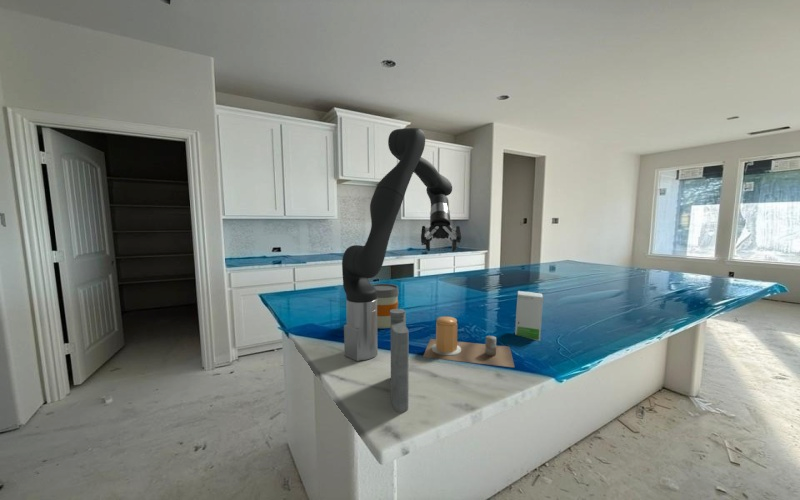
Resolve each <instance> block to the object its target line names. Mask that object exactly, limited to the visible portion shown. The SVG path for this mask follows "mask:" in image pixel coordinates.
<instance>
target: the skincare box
mask: <svg viewBox="0 0 800 500" xmlns="http://www.w3.org/2000/svg"><path fill="white" fill-rule="evenodd" d="M516 296H517V299H516V309H515V311H516V312H515V325H514V326H515V328H514V333H515V334H514V335H515V336H519V337H522V338H526V339H530V340H534V341H539V342H541V332H542V321H543V319H542V318H543V304H544V295H543V294H542V292H541V293H540V292H534V291H533V292H531V291H522V290H517V295H516Z"/></svg>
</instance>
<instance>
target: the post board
mask: <svg viewBox="0 0 800 500" xmlns="http://www.w3.org/2000/svg"><path fill="white" fill-rule="evenodd" d="M422 358H428V359H435V360H436V359H437V360H445V361H452V362H453V361H454V362H463V363H471V364H480V365H488V366H497V367H504V368H515V362H514V359H513V355H512V350H511V347H510V346H508V345H507V346H506V345H497V337H496V336H494V335H486V336H485V343H477V342H476V343H475V342H465V341H458V340H457V350H456V351H454V352H445V353H444V352H441V351H438V350H437V348H436V338H429V341H428V343H427V346H426V347H425V351H424V353H423V356H422Z"/></svg>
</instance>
